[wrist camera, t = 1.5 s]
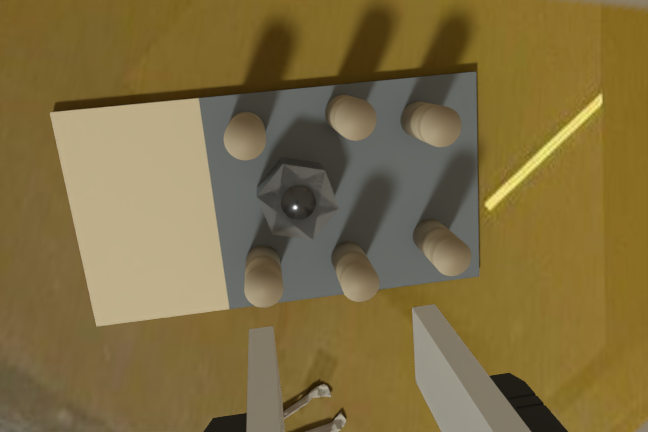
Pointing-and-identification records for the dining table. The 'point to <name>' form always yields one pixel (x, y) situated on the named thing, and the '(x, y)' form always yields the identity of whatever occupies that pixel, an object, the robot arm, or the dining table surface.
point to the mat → (241, 194)
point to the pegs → (348, 257)
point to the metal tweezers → (322, 390)
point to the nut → (297, 198)
